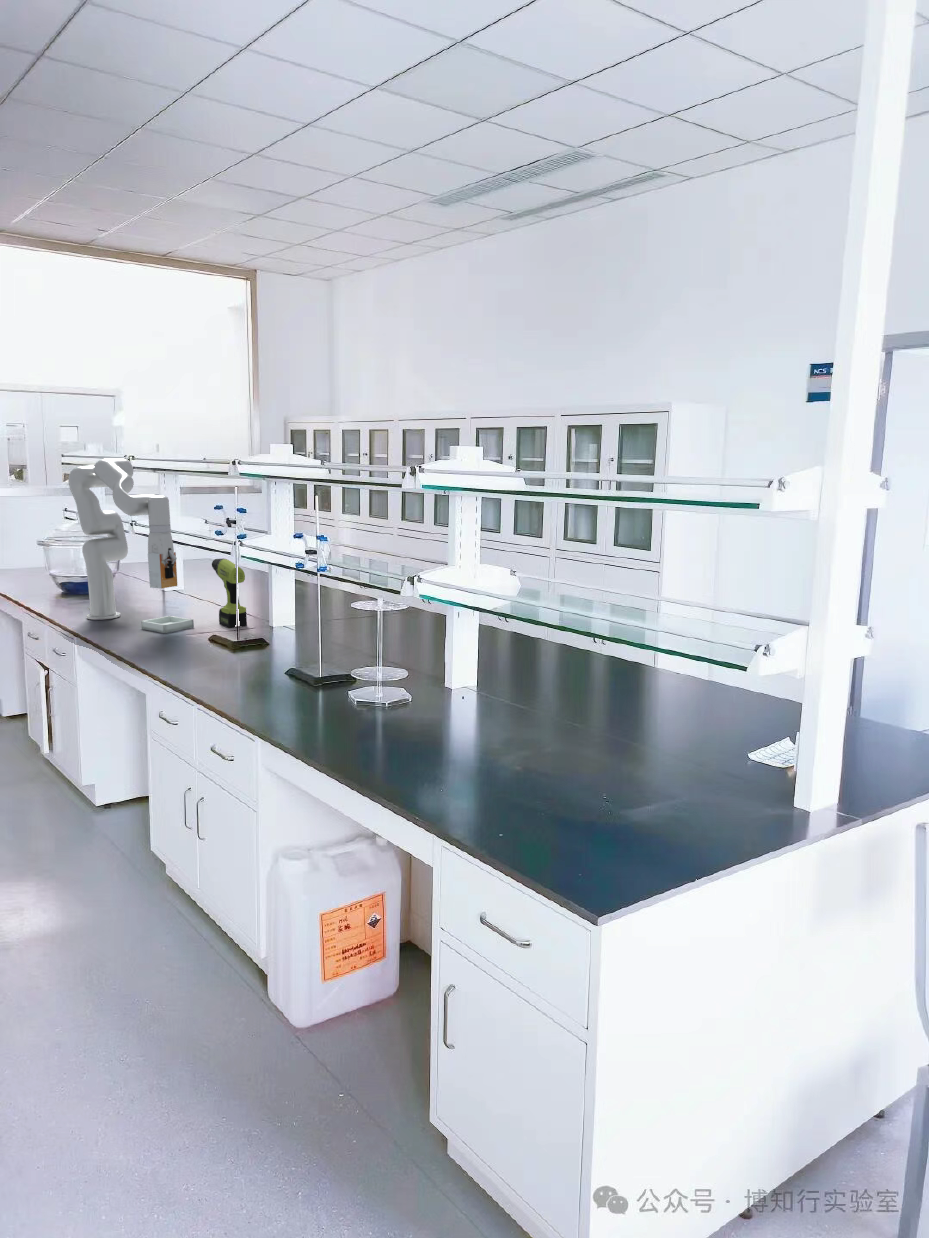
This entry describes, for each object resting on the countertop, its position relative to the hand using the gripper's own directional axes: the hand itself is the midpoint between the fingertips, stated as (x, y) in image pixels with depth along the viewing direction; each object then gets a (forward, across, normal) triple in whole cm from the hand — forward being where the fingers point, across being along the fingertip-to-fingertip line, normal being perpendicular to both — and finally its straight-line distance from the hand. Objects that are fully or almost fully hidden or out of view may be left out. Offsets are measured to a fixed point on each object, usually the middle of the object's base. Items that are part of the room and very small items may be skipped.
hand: (163, 576), depth 341 cm
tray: (+20, 0, 0) cm, 20 cm away
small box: (+4, 0, 0) cm, 4 cm away
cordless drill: (+20, +12, +19) cm, 30 cm away
